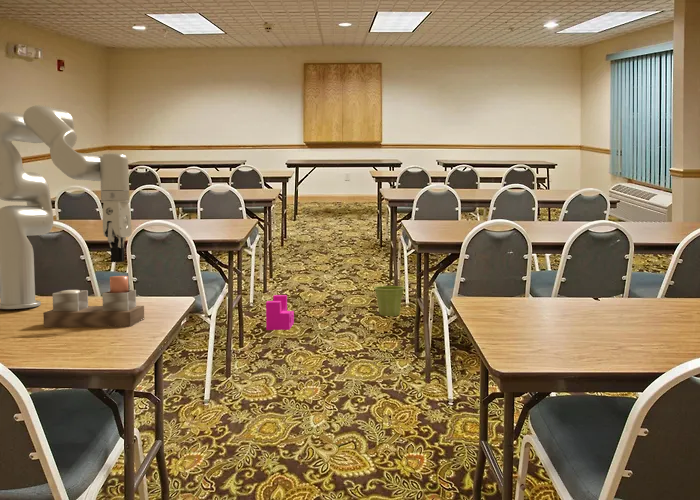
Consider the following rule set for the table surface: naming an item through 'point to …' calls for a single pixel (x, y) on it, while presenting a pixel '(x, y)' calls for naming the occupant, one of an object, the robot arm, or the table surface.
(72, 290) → the plunger white
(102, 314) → the button box
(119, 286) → the plunger salmon pink
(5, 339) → the table surface
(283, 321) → the toy block
